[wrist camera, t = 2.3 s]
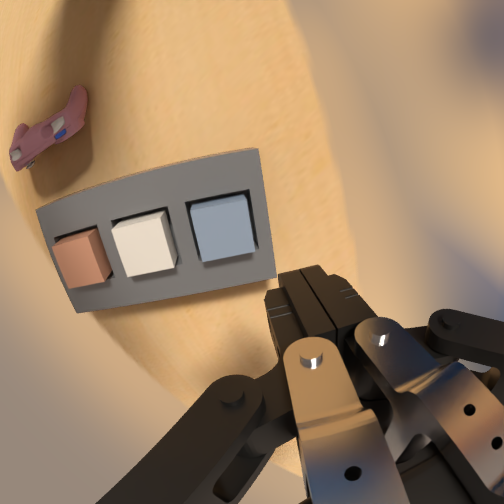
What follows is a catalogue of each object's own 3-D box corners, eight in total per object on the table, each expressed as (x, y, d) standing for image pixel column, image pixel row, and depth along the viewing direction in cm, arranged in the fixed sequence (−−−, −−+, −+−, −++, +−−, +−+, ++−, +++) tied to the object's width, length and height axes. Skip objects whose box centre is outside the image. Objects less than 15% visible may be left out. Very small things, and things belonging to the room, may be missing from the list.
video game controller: (36, 153, 22) (11, 187, 18) (19, 124, 19) (-11, 154, 14) (101, 114, 22) (83, 141, 18) (86, 79, 19) (61, 97, 14)
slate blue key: (192, 203, 23) (190, 210, 21) (243, 193, 23) (246, 199, 21) (203, 250, 25) (202, 262, 23) (251, 241, 25) (255, 251, 23)
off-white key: (120, 221, 23) (111, 229, 20) (165, 209, 23) (160, 217, 21) (134, 264, 24) (127, 277, 22) (177, 255, 25) (174, 267, 22)
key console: (54, 200, 23) (35, 209, 20) (251, 147, 25) (258, 148, 21) (88, 294, 28) (76, 313, 25) (268, 260, 30) (276, 277, 26)
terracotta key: (63, 237, 22) (51, 247, 20) (97, 227, 22) (87, 236, 20) (78, 276, 24) (68, 288, 22) (112, 269, 24) (104, 281, 22)
